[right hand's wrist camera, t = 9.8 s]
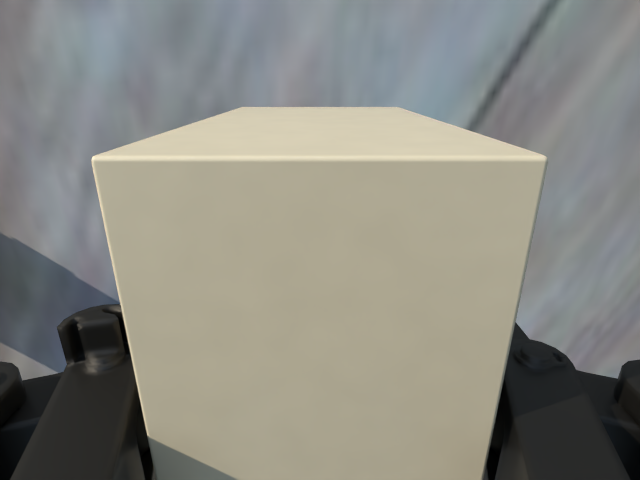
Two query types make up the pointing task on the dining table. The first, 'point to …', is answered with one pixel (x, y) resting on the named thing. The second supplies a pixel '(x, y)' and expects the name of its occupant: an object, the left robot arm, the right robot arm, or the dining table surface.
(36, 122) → the dining table surface
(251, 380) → the cream beam
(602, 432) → the right robot arm
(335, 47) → the dining table surface
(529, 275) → the dining table surface
